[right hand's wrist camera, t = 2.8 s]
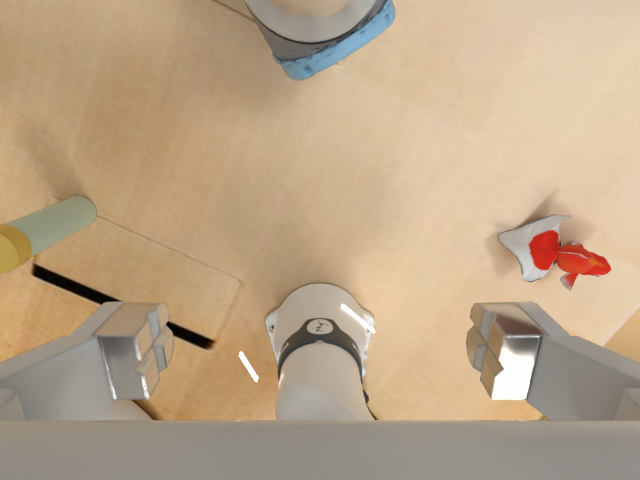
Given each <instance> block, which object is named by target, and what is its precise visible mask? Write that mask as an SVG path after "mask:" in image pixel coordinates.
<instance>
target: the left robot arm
mask: <svg viewBox="0 0 640 480" xmlns="http://www.w3.org/2000/svg"><path fill="white" fill-rule="evenodd" d="M244 2H245V4H246V5H247V7H248V9H249V11H250V12H251V14H252V16H253V18H254V20H255V21H256V23H257V25H258V27H259V28H260V30H261V32H262V34H263V35H264V37H265V39H266V41H267V43H268V44H269V46H270V48H271V50H272V51H273V57H274V59H275V61H276V62H277V63H278V64H280V65H281V67H282V68H283V70H284V71H285V73H286V74H287V76H288V77H290V78H291V79H293V80H297V81H299V80H304V79H307V78H309V77H311V76H313V75H314V74H316V73H318V72H320V71H323V70H325V69H327V68H328V67H330V66H332V65H334V64H335V63H337V62H339V61H340V60H342V59H344V58H345V57H347V56H349V55H350V54H352V53H353V52H355V51H356V50H358V49H360V48H361V47H363V46H364V45H366V44H367V43H369V42H370V41H371V40H373V39H374V38H376V37H377V36H378V35H380V34H381V33H382V32H383V31H384V30H385V29H386V28H388V27H389V26H390V25H391V24H392V23H393V21H394V19H395V7H394V5H393V2H392V0H244Z"/></svg>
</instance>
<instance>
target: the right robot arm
mask: <svg viewBox="0 0 640 480" xmlns="http://www.w3.org/2000/svg"><path fill="white" fill-rule="evenodd" d="M169 318H170V315H169V310H168V306H167V305H166V304H165V303H153V302H106V303H104V304H102V305H101V306H100V307H99V308H98V309H97V310H96V311H95V312H94V313H93V314H92V315H91V316H90V317H89V318H88V319H87V320H86V321H85V322H83V323H82V324H81V325H80V326H79V327H78V328H77V329H76V330H75V331H74V332H73V333H72V334H71V335H70V336H62V337H60V338H57V339H55V340H52V341H50V342H48V343H45V344H43V345H41V346H38V347H36V348H34V349H31V350H29V351H26V352H24V353H22V354H19V355H17V356H15V357H12V358H10V359H7V360H5V361H3V362H0V480H640V363H639V362H637V361H635V360H632V359H630V358H628V357H625V356H623V355H621V354H618V353H616V352H613V351H611V350H609V349H606V348H604V347H602V346H599V345H597V344H595V343H592V342H590V341H588V340H585V339H583V338H580V337H578V336H570V335H569V334H568V333H567V332H566V331H565V330H564V329H563V328H562V327H561V326H560V325H559V324H558V323H557V322H556V321H555V320H553V319H552V318H551V317H550V316H549V315H548V314H547V313H546V312H545V311H544V310H543V309H542V308H541V307H540V306H539V305H538V304H537V303H534V302H499V303H474V305H473V307H472V309H471V314H470V318H471V320H472V321H473V323H474V324H475V325H474V326H473V327H472V328H471V329H470V330H469V331H468V332H467V340H466V346H467V354H468V357H469V361H470V362H471V364H472V366H473V368H475V369H476V370H478V371H480V372H481V377H480V380H481V382H482V384H483V386H484V387H485V389H486V391H487V393H488V394H489V396H490V398H491V399H506V400H527V402H528V403H529V404H530V405H532V406H533V407H534V408H535V409H537V410H538V411H539V412H541V413H542V414H543V415H545V416H546V417H547V418H549V419H550V420H376V418H375V417H374V416H373V415H372V413H371V412H370V410H369V408H368V406H367V403H368V401H369V397H368V395H367V394H366V392H365V391H364V390H363V389H362V383H363V382H362V376H365V374H366V363H365V362H363V361H364V359H367V358H368V351H367V347H368V344H369V340H370V337H371V333H372V332H373V333H374V332H375V330H374V329H373V327H374V316H373V315H372V314H371V313H369V312H367V311H366V310H364V309H362V308H361V307H360V306H359V305H358V303H357V302H356V300H355V299H354V298H353V297H352V296H351V295H350V294H349V293H348V292H346V291H345V290H343V289H342V288H339V287H337V286H334V285H330V284H324V283H316V284H310V285H306V286H303V287H301V288H298V289H297V290H295V291H294V292H292V293H291V294H290V295H289V296H288V297H287V298H286V299H285V300H284V302H283V303H282V305H281V306H280V307H279V308H278V309H276V310H274V311H273V312H271V313H269V314H268V315H267V316H266V327H267V330H268V333H269V337H270V340H271V344H272V347H273V351H274V354H275V357H276V361H277V364H278V379H279V387H278V394H277V401H276V408H275V414H276V420H90V419H92V418H93V417H94V416H95V415H97V414H98V413H99V412H101V411H102V410H103V409H105V408H106V407H107V406H109V405H110V404H111V403H112V402H113V400H133V399H149V398H150V396H151V394H152V393H153V391H154V389H155V387H156V386H157V384H158V382H159V380H160V377H159V372H160V371H162V370H164V369H165V368H167V366H168V364H169V362H170V360H171V357H172V353H173V349H174V339H173V332H172V331H171V330H170V329H169V328H168V327H167V326H166V325H165V324H166V323H167V321H168V320H169ZM273 325H274V327H272V326H273ZM239 357H240V358H241V360H242V361H243V363H244V364H245V366H246V368H247V369H248V371H249V372H250V374H251V375H252V377H253V378H254V380H255V382H257V381H258V377H257V375H256V373H255V372H254V370H253V369H252V367H251V366H250V364H249V362H248V361H247V359H246V358H245V356H244V355H243V353H242V352H240V354H239Z"/></svg>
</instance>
